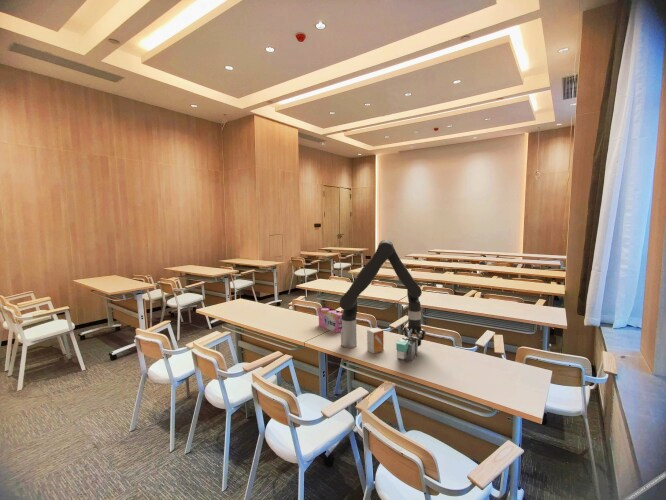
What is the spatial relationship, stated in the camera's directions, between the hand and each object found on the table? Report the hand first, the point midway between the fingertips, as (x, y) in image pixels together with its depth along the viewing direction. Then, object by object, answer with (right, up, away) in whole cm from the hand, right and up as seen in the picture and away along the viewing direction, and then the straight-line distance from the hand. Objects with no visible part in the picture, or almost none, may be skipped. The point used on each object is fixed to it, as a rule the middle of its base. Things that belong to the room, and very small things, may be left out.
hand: (414, 344), depth 188 cm
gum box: (-51, -1, +44) cm, 68 cm away
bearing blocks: (-7, -4, -10) cm, 13 cm away
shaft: (-6, -1, -9) cm, 11 cm away
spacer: (-11, +2, -17) cm, 20 cm away
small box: (-24, -4, +1) cm, 24 cm away
